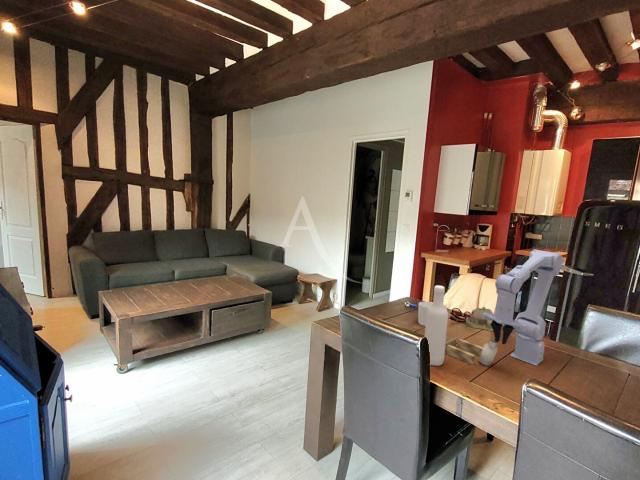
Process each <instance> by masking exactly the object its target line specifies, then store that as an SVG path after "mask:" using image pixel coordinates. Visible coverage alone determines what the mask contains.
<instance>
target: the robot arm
mask: <svg viewBox="0 0 640 480" xmlns="http://www.w3.org/2000/svg"><path fill="white" fill-rule="evenodd" d="M563 262H564V259H563V255H562V253H560V252H553V251H545V250H540V249H539V250H538V249H537V248H535V249H533V250H531V252H530V253H529V256H528V259H527V260H526V261H525V262H524V263H523V264H522V265H521V264H520V265H519V264H518V265H516V266H515V267H514V268H512V269H511V270H510V271H508V272H507V273H506V274H501V275H500V274H499V275H498V276H497V278H496V279H495V288H496V291H495V293H496V294H497V295H496V296H497V298H496V305H495V312H494V313H493V314H489V313H483V315H482V318H483V319H488V320H491V321H492V323H491V327H492V329H493V331H492V332H493V334H494V338H495V342H498V343H499V342H500V341H501V345H506V344H507V341H508V339H509V338H510V335H511V334H512V332H514V334H515V335H516V340H515V346H514V352H512V353H511V354H510V357H511V358H515V359H517V360H519V361H523V362H525V363H528V364H531V365H533V366H535V367H536V366H538V365H539V364H541V363H542V361H543V360H544V354H545V353H544V352H545V346H546V345H545V342H544V341H542V339H543V338H544V336H545V334H546V333H545V332H546V325H547V323H546V320H544V318H543V317H542V316H541V314H542V311H543V308H544V306H545V303H546V299H547V297H548V294H549V291H550V288H551V286H552V282H553V281H554V277H556V276H559V275H560V272H561V269H562V266H563V265H564V263H563ZM533 271H535V272H536V273H537V274H538V275H537V278H536V281H535V284H534V287H533V289H532V291H531V292H532V293H531V295H530V298H529V301H528V305H527V306H526V309H525V310H524V311H523V312H519V313H518V314H517V316H516V318H515V319H514V314H515V313H514V311H515V304H516V298H517V297H516V295H517V293H519V291H520V289H521V287H523V284H524V282H526V281H527V280H528V279H529V278H530V277H531V273H532V272H533ZM503 325H504V326H503ZM501 331H502V332H501ZM501 333H502V339H501Z"/></svg>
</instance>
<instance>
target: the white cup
mask: <svg viewBox="0 0 640 480" xmlns="http://www.w3.org/2000/svg"><path fill="white" fill-rule="evenodd" d="M431 304H433V302H428V301H420V302H418V308H417V309H418V311H417V315H418V321H417V323H418V324H419V325H421V326H424V327H425V325H426V313H427V309H428V307H429V306H430V305H431Z"/></svg>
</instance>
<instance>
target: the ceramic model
mask: <svg viewBox="0 0 640 480" xmlns="http://www.w3.org/2000/svg"><path fill="white" fill-rule="evenodd" d="M470 313H471V314H470V317H469V316H467V317H466V318H465V324H466V325H467V326H469V327H470V328H474V329H481V330H484V331H489V332H494V331H493V329H492V327H491V323H492V321H491V320H488V319H483V318H482V315H483V313H489V314H494V312H493V311H492V309H490V308H486V307H485V306H482V307H481V308H480V307H476V308H474V309H473V310H472V311H471V312H470Z"/></svg>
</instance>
